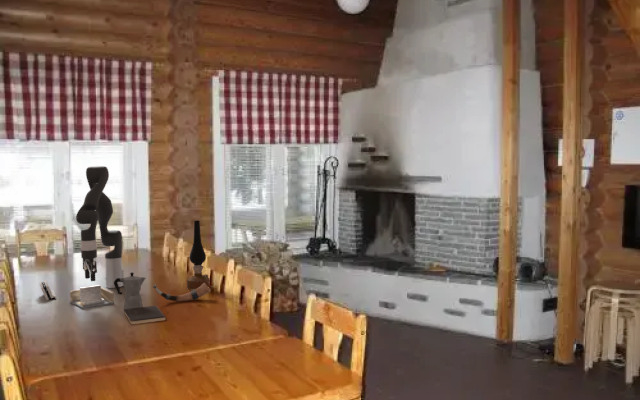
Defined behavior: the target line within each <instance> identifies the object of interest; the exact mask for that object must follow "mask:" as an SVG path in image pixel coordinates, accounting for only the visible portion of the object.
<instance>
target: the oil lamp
mask: <svg viewBox="0 0 640 400" xmlns="http://www.w3.org/2000/svg"><path fill="white" fill-rule="evenodd" d="M200 224H201V223H200V220H194V222H193V243H192V247H191V250H190V253H189V257H188V258H189V261H190V262H191V263H192V264H193V266H192V269H193V272H194V273H193V275H192V276H190V277H188V278H187V279H186V289H187V288H188V289H197V288H198V287H200V286H201V285H202V284H203V283H205V284H206V285H207V286H208V287H210V288H211V279H210V277H209V275H208V274H207V273H204V274H203V268H204V266H203V263H204V262H205V261H206V259H207V255H206V252H205V250H204V247H203V243H202V237H201V236H202V235H201V225H200ZM188 289H187V290H188Z"/></svg>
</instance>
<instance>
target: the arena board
mask: <svg viewBox="0 0 640 400" xmlns="http://www.w3.org/2000/svg"><path fill="white" fill-rule="evenodd" d="M69 300H70V299H69ZM70 303H71V304H73V305H74V304H75V306H76V307H78V308H80V310H88V309H94V308H100V307H107V306H111V305H115V301H114V302H113V303H111V302H109V301H107V300H105V302H103V303H97V304H91V305H83V304H81V303H80V300H73V301H71V300H70Z"/></svg>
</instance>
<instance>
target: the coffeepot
mask: <svg viewBox="0 0 640 400" xmlns="http://www.w3.org/2000/svg"><path fill="white" fill-rule="evenodd" d="M134 274H135V273H134V272H130V275H129V276H126V277H124V278H117V279H116V280H115V281H114V285H115V290H116V292H117V294H118V295H123V291H124V293H125V296H124V301H123V310H124V309H131V308H139V307H144V306H143V300H142V297H141V296H142V295H141V294H140V293H141V289H142V285H143V283H144V282H145V280H146V279H147V278H146V277H144V276H138V275H134ZM117 282H123V285H124V286H123V291H120V287H118V284H117Z"/></svg>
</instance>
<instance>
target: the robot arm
mask: <svg viewBox="0 0 640 400" xmlns="http://www.w3.org/2000/svg"><path fill="white" fill-rule="evenodd" d="M85 170H86V171H85V176H86V181H87V183H88V185H89V186H88V187H89V189H90V190H89V191H88V192H87V193H86V195H85V197H84V201H83V204H82V205H81V207H80V208H79V209H78V211H77V212H76V214H75V221H76V223H78V224H80V225H89V227H86V228H83V229H81V230H80V239H81V241H80V254H81V255H80V256H81V257H80V258H81V259H82V270H83V271H84V278H85V279H87V280H88V279H90V281H91V282H95V281H96V273H98V269H97V261H96V260H94V259H96V258H97V257H98V250H97V248H98V247H97V246H98V245H97V238H96V237H97V236H96V230H97V225H98V226H99V227H98V228H99V233H100V240H101V243H102V245H103V246H104V247H113V249H112V250H111V251H110V250H109V251H107V252H106V253H105V254H104V261H105V262H104V263H105V265H104V266H105V287H106V289H107V288H109V289H114V288H115V285H114V281H115V280H116V279H117V278H125V277H124V276H125V275H124V274H125V273H124V272H125V271H124V269H123V258H122V257H123V255H122V254H123V235H122V234H123V233H122V231H121V230H118V229H117V230H109V229H108V224H109V222H110V220H111V218H112V216H113V213H114V208H113V204H112V201H111V199H110V197H108V196H107V194H106V193H105V192H104V189H105V187H106V185H107V184H108V181H109V176H110V174H109V168H108V167H107V166H105V165H101V166H99V165H96V166H87V168H86V169H85ZM117 284H118V287H119V288H120V287H121V288H122V287H124V285H123V282H117ZM115 289H116V288H115Z"/></svg>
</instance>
